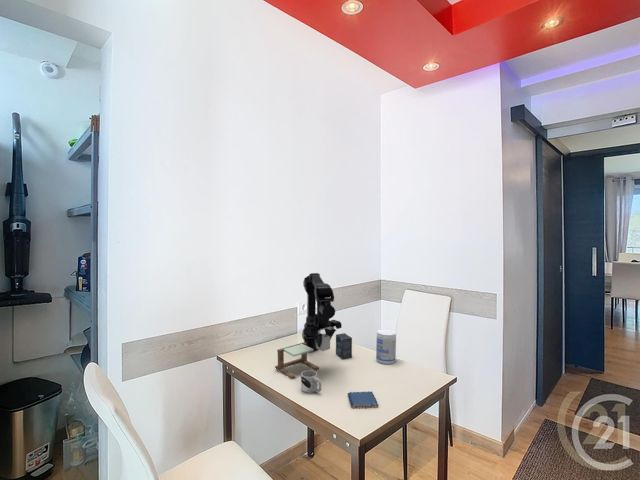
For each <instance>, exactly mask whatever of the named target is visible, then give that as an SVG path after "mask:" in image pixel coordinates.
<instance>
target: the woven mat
mask: <svg viewBox="0 0 640 480" xmlns="http://www.w3.org/2000/svg"><path fill="white" fill-rule="evenodd" d="M347 397H348V402H349V404H350V407H351V409H353V410H354V409H372V408H374V409H375V408H379V406H380V405H379V403H378V400H377V398H376V397H375V394H374V392H373V391H369V390H368V391H349V392H347Z"/></svg>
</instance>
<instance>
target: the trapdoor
mask: <svg viewBox="0 0 640 480" xmlns="http://www.w3.org/2000/svg"><path fill="white" fill-rule="evenodd" d="M299 344H300V343H299ZM295 345H296V344H295ZM291 346H292V347H289V346H288V347H289V348H286V347H284V348H285V349H283V350H284V353H286V354H288V355H290V356H292V357H297V356H301V354H304V353H307V354H308V353H311V351H312V352H314V351H313V349H312V348H310V347H308V346H306V345H303V344H300V345H296V346H293V345H291Z"/></svg>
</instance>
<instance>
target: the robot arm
mask: <svg viewBox="0 0 640 480" xmlns="http://www.w3.org/2000/svg"><path fill="white" fill-rule="evenodd" d="M302 283H303V284H302V285H303V288H304V291H305V292H306V294H307V303H306V306H307V307H306V310H307V311H306V314H307V315H306V317H305V321H306V322H305V323H304V325H303V330H302V332H301V337H302V340H303V342H306V343H307V346H308V347H310V348H312V349H313V351H311V352H314V351H318V350H319V349H317V348H316V342H317V345H318V347H320V346H321V340H322V334H323V333H322V332H321V331H323V330H324V332H325V333H324V334H326V335H329V336H330V341H331V340H332V337H333V336H334V334H335V332H337V330H338V329H342V328H343V327H342V323H341V321H340V320H336V319H332V318H334V316H335V314H336V308H335V307H334V306H333V305H332V302H335V296H334V291H333V289H332V286H331V285H329V284H328V283H325V281H324V280H323V279H322V278H321V274H320V273H319V272H312V273H309V275H308V276H305V277H304V278H303V282H302ZM330 319H331V320H330ZM335 328H336V329H335ZM311 352H310V353H311Z"/></svg>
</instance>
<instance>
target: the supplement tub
mask: <svg viewBox="0 0 640 480" xmlns="http://www.w3.org/2000/svg"><path fill="white" fill-rule="evenodd" d="M375 350H376V351H375V352H376V355H375V359H376V361H377V362H378V363H380V364H384V365H392V364H394V363H396V358H397V357H396V356H397V355H396V354H397V333H396V331H395V330H392V329H388V328H386V329H384V328H383V329H379V330H377V331H376V349H375Z"/></svg>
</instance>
